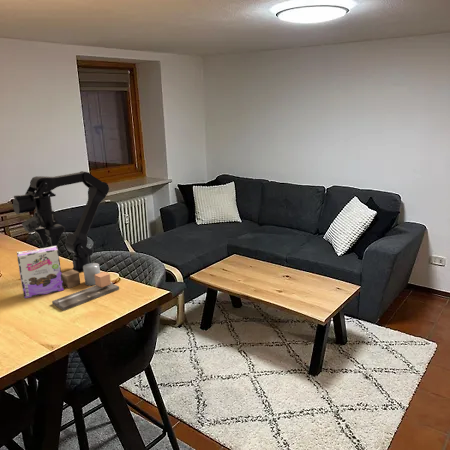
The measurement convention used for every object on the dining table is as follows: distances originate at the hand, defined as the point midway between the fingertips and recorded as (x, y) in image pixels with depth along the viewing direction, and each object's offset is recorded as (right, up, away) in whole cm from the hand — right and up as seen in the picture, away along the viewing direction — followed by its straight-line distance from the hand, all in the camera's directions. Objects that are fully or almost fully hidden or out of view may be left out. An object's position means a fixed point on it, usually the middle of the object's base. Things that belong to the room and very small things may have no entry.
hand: (49, 247), depth 167 cm
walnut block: (+10, -14, -4) cm, 18 cm away
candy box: (+2, -16, -9) cm, 19 cm away
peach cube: (+24, -13, -10) cm, 30 cm away
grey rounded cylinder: (+18, -14, -2) cm, 23 cm away
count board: (+20, -17, -15) cm, 30 cm away
